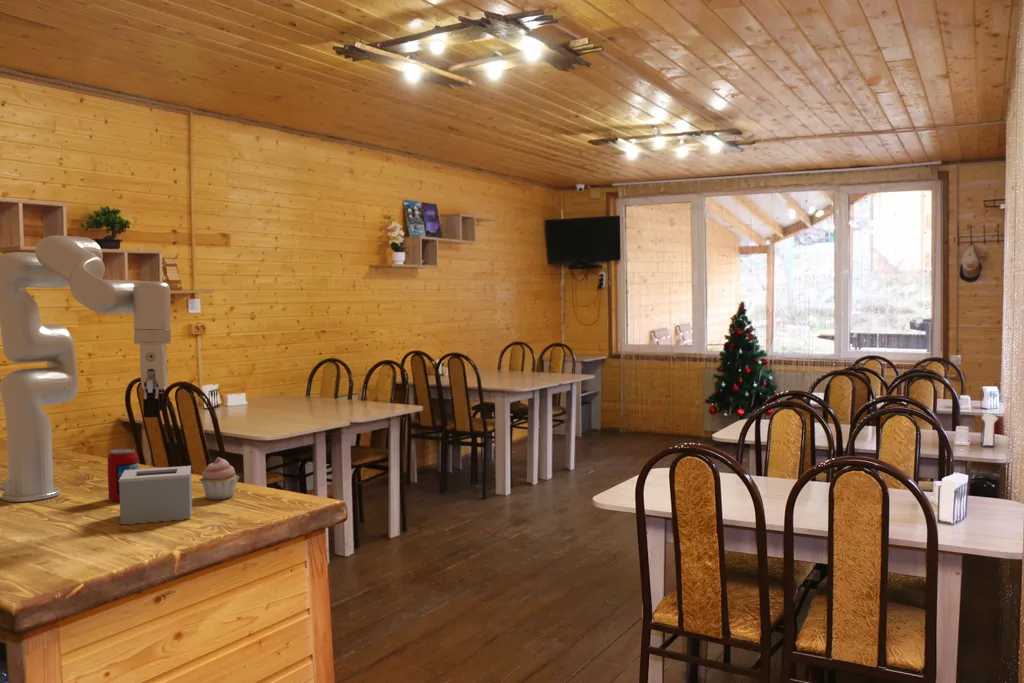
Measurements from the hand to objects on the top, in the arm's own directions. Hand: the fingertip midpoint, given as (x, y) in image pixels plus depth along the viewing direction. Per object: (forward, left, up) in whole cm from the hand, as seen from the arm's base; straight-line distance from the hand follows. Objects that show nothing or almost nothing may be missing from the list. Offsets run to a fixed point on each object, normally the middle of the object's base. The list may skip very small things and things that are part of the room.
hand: (153, 413), depth 182 cm
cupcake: (+13, +14, -23) cm, 30 cm away
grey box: (0, 0, -23) cm, 23 cm away
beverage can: (-9, +20, -23) cm, 32 cm away
